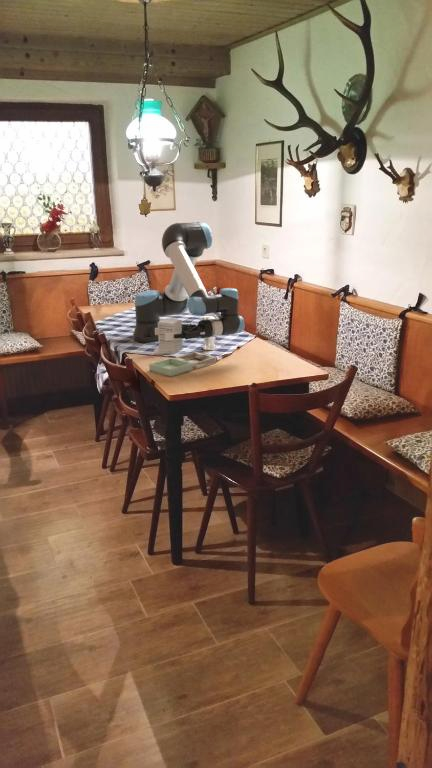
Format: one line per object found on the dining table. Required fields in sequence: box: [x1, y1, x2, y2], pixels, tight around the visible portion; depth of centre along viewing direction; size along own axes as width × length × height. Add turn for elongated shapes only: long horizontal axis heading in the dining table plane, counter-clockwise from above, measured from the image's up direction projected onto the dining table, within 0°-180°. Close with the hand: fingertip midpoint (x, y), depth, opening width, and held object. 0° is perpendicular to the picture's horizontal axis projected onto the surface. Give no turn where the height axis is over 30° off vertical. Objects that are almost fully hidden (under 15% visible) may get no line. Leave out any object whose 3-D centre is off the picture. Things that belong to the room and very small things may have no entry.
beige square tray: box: [174, 351, 217, 370], centre depth 257 cm, size 13×13×2 cm
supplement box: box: [158, 318, 183, 355], centre depth 242 cm, size 7×7×13 cm
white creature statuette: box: [153, 347, 171, 356], centre depth 272 cm, size 10×9×12 cm
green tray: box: [148, 357, 194, 378], centre depth 247 cm, size 13×13×3 cm
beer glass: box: [201, 315, 218, 351], centre depth 277 cm, size 7×7×15 cm
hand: (160, 334), depth 240 cm, fingers closed on supplement box, 10 cm apart
